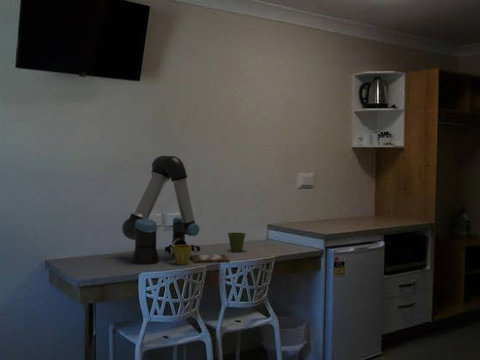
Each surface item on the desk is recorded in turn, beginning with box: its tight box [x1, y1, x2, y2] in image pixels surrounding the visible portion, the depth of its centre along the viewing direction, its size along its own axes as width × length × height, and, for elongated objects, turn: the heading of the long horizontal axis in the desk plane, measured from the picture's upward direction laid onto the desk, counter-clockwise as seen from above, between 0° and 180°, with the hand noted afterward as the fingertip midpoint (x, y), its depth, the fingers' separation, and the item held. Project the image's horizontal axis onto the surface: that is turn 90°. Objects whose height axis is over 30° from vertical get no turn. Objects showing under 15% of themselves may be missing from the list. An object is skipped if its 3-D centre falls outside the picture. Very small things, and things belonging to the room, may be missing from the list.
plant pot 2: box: [227, 231, 247, 253], centre depth 327 cm, size 12×12×11 cm
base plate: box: [191, 254, 231, 264], centre depth 296 cm, size 20×16×2 cm
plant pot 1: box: [173, 244, 193, 265], centre depth 285 cm, size 10×10×10 cm
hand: (184, 251), depth 286 cm, fingers open, 13 cm apart
